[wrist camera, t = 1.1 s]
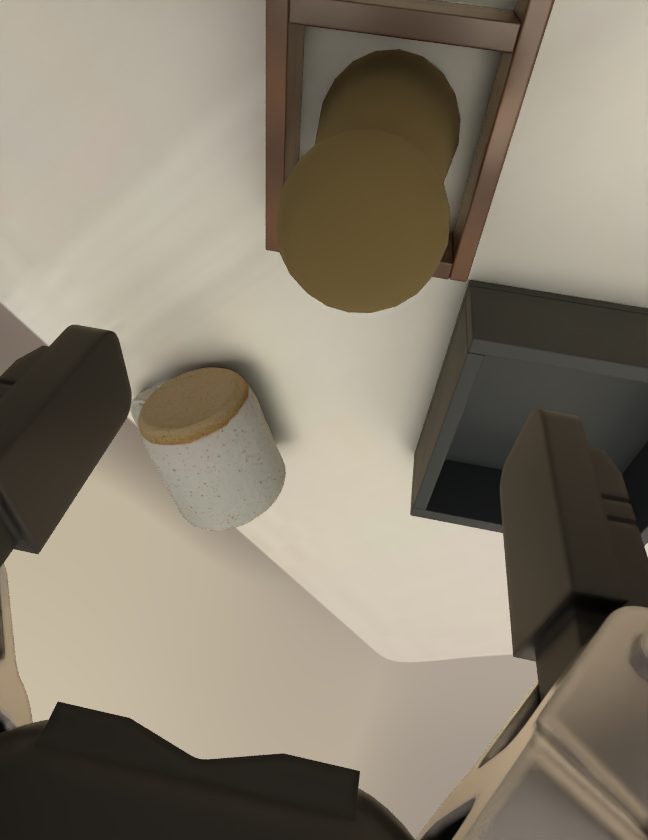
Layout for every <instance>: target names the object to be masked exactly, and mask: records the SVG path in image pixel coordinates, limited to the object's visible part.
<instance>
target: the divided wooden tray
mask: <svg viewBox="0 0 648 840" xmlns="http://www.w3.org/2000/svg"><path fill="white" fill-rule="evenodd" d="M554 1H555V0H517V1H516V5H515V8H514V12H513V11H512V10H504V9H496V8H488V7H480V6H472V5H465V4H457V3H449V2H441V1H433V0H266V250H270V251H276V252H279V246H278V240H277V233H276V214H277V208H278V202H279V196H280V192H281V190H282V188H283V186H284V184H285V182H286V180H287V179H288V177H289V175H290V173H291V171H292V169H293V168H294V166H295V165H296V163H297V162H298V161H299V144H300V121H301V98H302V76H303V53H304V30H305V26H313V27H320V28H328V29H336V30H343V31H351V32H358V33H366V34H373V35H381V36H388V37H396V38H403V39H411V40H418V41H426V42H433V43H441V44H448V45H456V46H463V47H471V48H479V49H486V50H494V51H501V52H503V53H502V56H501V60H500V64H499V67H498V71H497V75H496V78H495V82H494V86H493V89H492V93H491V97H490V100H489V104H488V108H487V111H486V115H485V119H484V123H483V126H482V130H481V134H480V137H479V141H478V145H477V148H476V152H475V156H474V159H473V163H472V167H471V170H470V174H469V178H468V181H467V185H466V189H465V192H464V196H463V200H462V204H461V207H460V211H459V215H458V218H457V222H456V226H455V229H454V233H453V234H449V237H448V245H447V247H446V249H445V252H444V254H443V256H442V259H441V261H440V263H439V266H438V268H437V270H436V271H435V273H434V275H433V276H432V277H437V278H443V279H449V278H450V279H451V280H457V281H463V282H466V281H467V279H468V276H469V273H470V270H471V266H472V263H473V260H474V257H475V254H476V250H477V247H478V244H479V241H480V238H481V234H482V231H483V228H484V225H485V222H486V218H487V215H488V212H489V209H490V206H491V202H492V199H493V196H494V193H495V190H496V186H497V183H498V180H499V177H500V173H501V170H502V167H503V164H504V161H505V157H506V154H507V151H508V148H509V145H510V141H511V138H512V135H513V132H514V129H515V125H516V122H517V119H518V116H519V113H520V109H521V106H522V103H523V100H524V97H525V93H526V90H527V87H528V84H529V81H530V77H531V74H532V71H533V68H534V65H535V61H536V58H537V55H538V52H539V49H540V45H541V42H542V39H543V36H544V33H545V29H546V26H547V23H548V20H549V17H550V13H551V10H552V7H553V4H554Z"/></svg>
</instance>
